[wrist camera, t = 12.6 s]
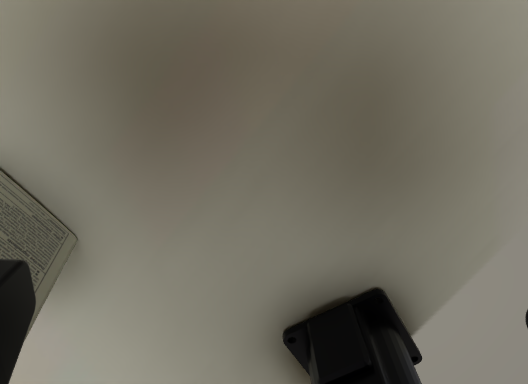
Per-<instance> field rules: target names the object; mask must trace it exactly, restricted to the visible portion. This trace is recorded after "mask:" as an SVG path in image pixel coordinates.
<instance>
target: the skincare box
mask: <svg viewBox="0 0 528 384" xmlns="http://www.w3.org/2000/svg"><path fill="white" fill-rule="evenodd" d="M76 242H77V238H76V237H75V236H74V235H73V234H72V233H71V232H70V231H69V230H68V229H67V228H66V227H65V226H64V225H63V224H61V223H60V222H59V221H58V220H57V219H56V218H55V217H54V216H53V215H51V214H50V213H49V212H48V211H47V210H46V209H45V208H43V207H42V206H41V205H40V204H39V203H38V202H37V201H35V200H34V199H33V198H32V197H31V196H30V195H29V194H27V193H26V192H25V191H24V190H23V189H22V188H20V187H19V186H18V185H17V184H16V183H15V182H13V181H12V180H11V179H10V178H9V177H8V176H6V175H5V174H4V173H3V172H2V171H0V259H22V260H25V261H26V262H27V263H28V265H29V267H30V271H31V276H32V281H33V286H34V291H35V296H36V307H35V312H34V315H33V318H32V320H31V323H30V326H29V329H28V331H27V334H26V337H27V335H28V333H29V331H30V329H31V328H32V326H33V324H34V322H35V320H36V318H37V316H38V314H39V312H40V310H41V308H42V306H43V304H44V303H45V301H46V299H47V297H48V295H49V293H50V291H51V289H52V287H53V286H54V284H55V282H56V280H57V278H58V276H59V274H60V272H61V270H62V268H63V267H64V265H65V263H66V261H67V259H68V257H69V255H70V253H71V251H72V249H73V248H74V246H75V244H76ZM26 337H25V339H26ZM24 341H25V340H24ZM23 343H24V342H23Z"/></svg>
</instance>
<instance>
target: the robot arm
mask: <svg viewBox="0 0 528 384" xmlns="http://www.w3.org/2000/svg"><path fill="white" fill-rule="evenodd" d="M378 297H380V298H379V299H376V298H378ZM35 307H36V296H35V291H34V286H33V281H32V276H31V271H30V267H29V265H28V263H27V262H26V261H25V260H22V259H0V384H9V381H10V378H11V376H12V373H13V370H14V367H15V364H16V362H17V359H18V356H19V353H20V351H21V348H22V345H23V342H24V340H25V337H26V334H27V331H28V329H29V326H30V323H31V320H32V318H33V315H34V312H35ZM526 325H527V328H528V310H527V312H526ZM290 337H294V338H290ZM283 342H284V344H285V345H286V346H287V348H288V349H289V350H290V351H291V353H292V354H293V355H294V356H295V358H296V359H297V360H298V361H299V363H300V364H301V365H302V366H303V368H304V369H305V370H306V372H307V373H308V374H309V375H310V378H311V384H422V383H421V381H420V379H419V376H418V374H417V372H416V370H415V367H414V365H416V364H418V363H420V362H421V360H422V356H421V354H420V351H419V350H418V348H417V346H416V344H415V343H414V341H413V339H412V338H411V336H410V334H409V333H408V331H407V329H406V327H405V326H404V324H403V322H402V321H401V319H400V317H399V316H398V314H397V312H396V310H395V309H394V307H393V305H392V304H391V302H390V300H389V299H388V297H387V295H386V294H385V292H384V291H383V290H381V289H375V290H372V291H370V292H368V293H366V294H364V295H362V296H359V297H357V298H355V299H353V300H351V301H349V302H346V303H344V304H342V305H340V306H338V307H336V308H333V309H331V310H329V311H327V312H325V313H323V314H320V315H318V316H316V317H314V318H312V319H310V320H307V321H305V322H303V323H301V324H299V325H297V326H294V327H292V328H290V329H288V330H286V331H285V332H284V333H283Z"/></svg>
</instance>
